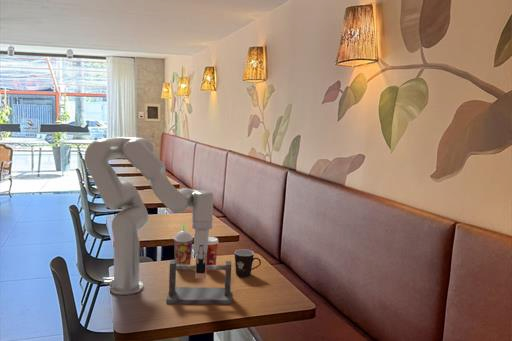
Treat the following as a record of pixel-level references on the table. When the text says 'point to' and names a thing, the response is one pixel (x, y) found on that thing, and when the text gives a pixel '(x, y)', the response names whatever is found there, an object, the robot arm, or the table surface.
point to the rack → (199, 293)
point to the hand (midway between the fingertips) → (200, 269)
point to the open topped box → (200, 275)
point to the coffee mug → (244, 262)
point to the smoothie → (183, 247)
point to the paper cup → (212, 251)
